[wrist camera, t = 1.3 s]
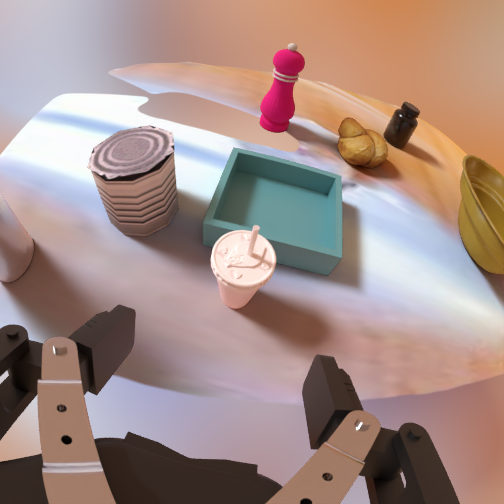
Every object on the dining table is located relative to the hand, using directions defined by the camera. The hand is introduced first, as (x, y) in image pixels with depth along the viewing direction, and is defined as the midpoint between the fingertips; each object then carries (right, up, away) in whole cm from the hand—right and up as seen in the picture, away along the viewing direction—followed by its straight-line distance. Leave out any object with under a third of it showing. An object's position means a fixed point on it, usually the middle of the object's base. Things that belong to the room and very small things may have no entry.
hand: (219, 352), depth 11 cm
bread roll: (+25, +25, +44) cm, 56 cm away
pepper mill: (+6, +32, +45) cm, 56 cm away
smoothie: (-1, -1, +24) cm, 24 cm away
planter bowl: (+54, +6, +38) cm, 66 cm away
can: (-15, +11, +29) cm, 35 cm away
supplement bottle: (+39, +34, +52) cm, 74 cm away
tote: (+5, +10, +31) cm, 33 cm away
